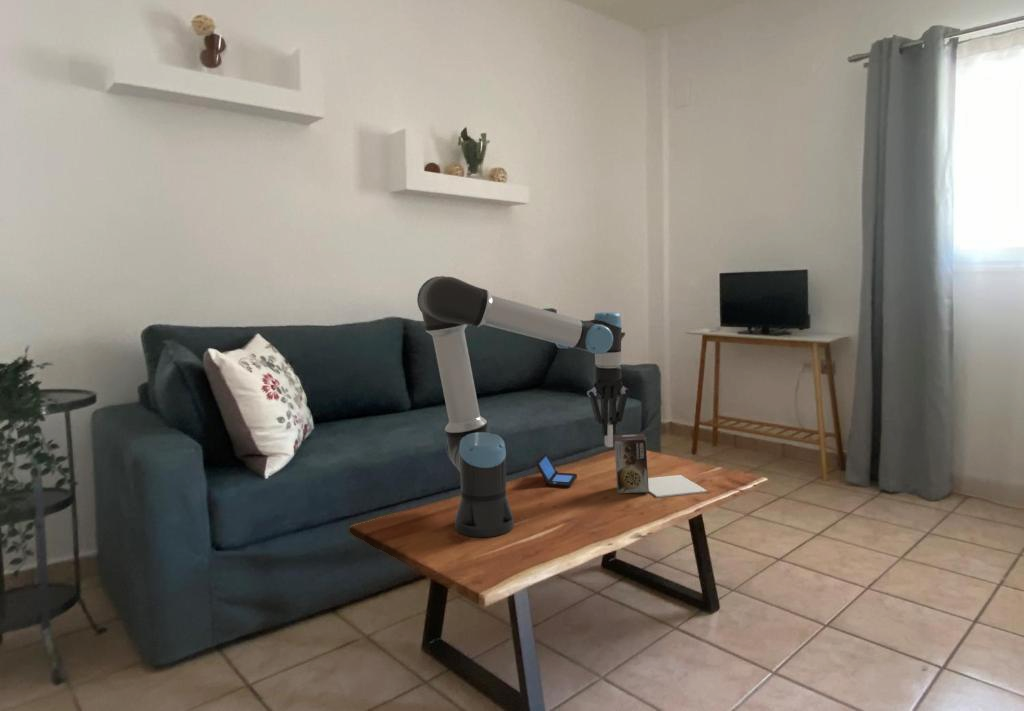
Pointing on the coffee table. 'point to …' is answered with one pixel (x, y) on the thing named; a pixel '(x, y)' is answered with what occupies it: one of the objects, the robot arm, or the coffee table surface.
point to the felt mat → (673, 486)
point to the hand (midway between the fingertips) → (608, 445)
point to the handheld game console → (554, 474)
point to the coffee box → (631, 463)
